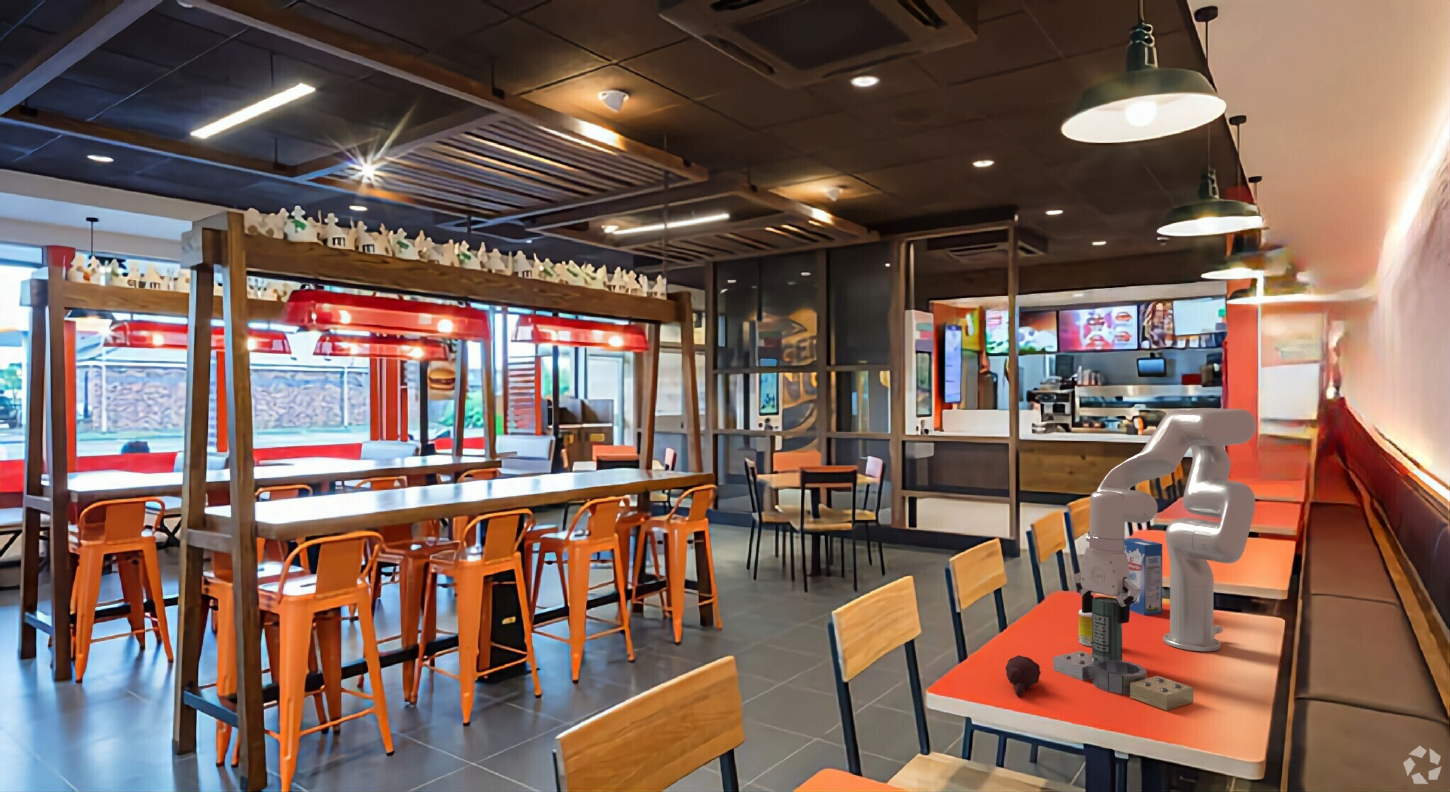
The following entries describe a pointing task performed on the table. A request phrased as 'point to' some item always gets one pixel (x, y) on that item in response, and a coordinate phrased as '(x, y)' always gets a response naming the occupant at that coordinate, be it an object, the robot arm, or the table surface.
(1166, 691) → the tan studded block
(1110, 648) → the can
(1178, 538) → the robot arm
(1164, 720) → the table surface
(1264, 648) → the table surface
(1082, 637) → the supplement bottle
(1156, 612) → the milk carton
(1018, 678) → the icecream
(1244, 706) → the table surface
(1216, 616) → the table surface
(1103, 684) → the leaf fixed
